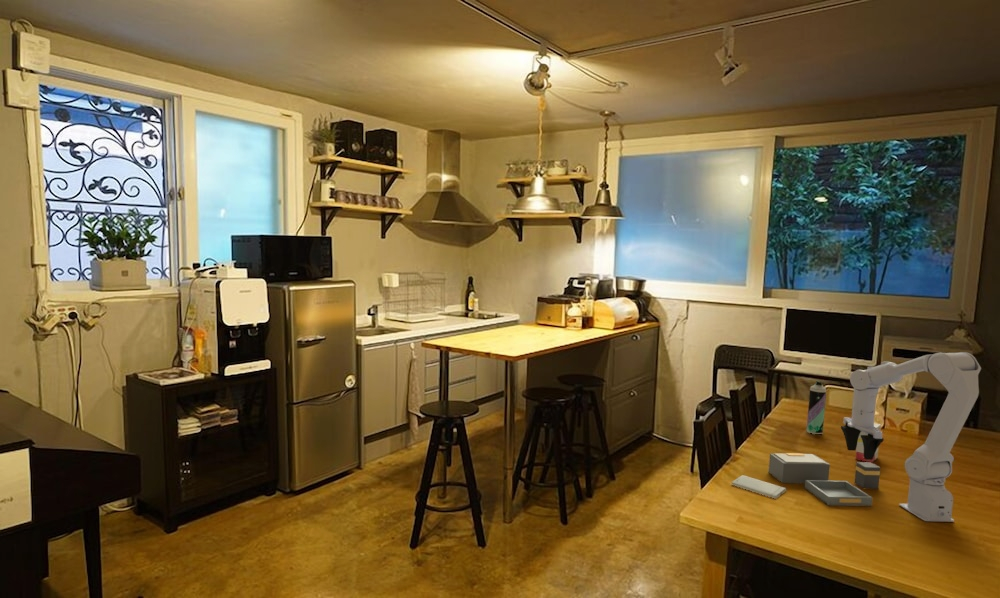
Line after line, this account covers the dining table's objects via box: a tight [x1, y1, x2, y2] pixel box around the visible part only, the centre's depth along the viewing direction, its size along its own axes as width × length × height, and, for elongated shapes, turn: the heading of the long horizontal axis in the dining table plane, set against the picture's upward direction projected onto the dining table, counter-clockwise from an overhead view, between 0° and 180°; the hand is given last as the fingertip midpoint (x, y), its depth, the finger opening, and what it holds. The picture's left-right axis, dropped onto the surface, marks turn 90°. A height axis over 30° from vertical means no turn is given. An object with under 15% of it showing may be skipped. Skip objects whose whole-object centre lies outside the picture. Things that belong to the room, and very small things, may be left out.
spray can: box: [806, 380, 827, 435], centre depth 220 cm, size 6×6×20 cm
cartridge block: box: [854, 461, 881, 490], centre depth 170 cm, size 4×5×6 cm
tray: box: [804, 479, 873, 507], centre depth 162 cm, size 11×12×2 cm
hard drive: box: [731, 474, 787, 500], centre depth 166 cm, size 2×8×12 cm
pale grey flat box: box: [768, 452, 831, 484], centre depth 174 cm, size 8×14×6 cm, turn 92°
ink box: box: [855, 422, 882, 463], centre depth 193 cm, size 9×5×12 cm, turn 134°
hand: (859, 454), depth 171 cm, fingers open, 7 cm apart
